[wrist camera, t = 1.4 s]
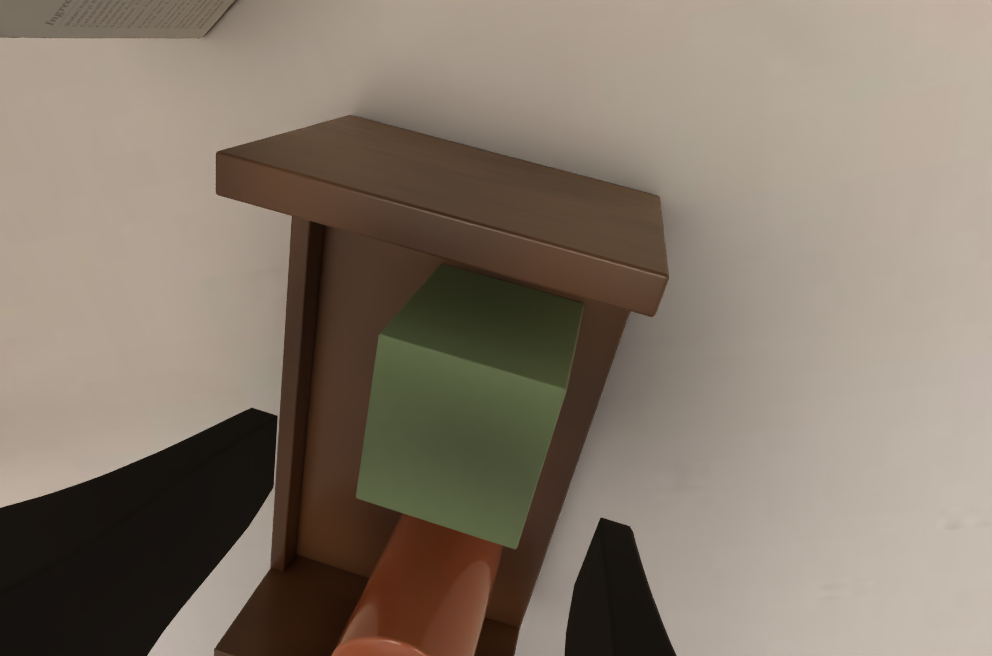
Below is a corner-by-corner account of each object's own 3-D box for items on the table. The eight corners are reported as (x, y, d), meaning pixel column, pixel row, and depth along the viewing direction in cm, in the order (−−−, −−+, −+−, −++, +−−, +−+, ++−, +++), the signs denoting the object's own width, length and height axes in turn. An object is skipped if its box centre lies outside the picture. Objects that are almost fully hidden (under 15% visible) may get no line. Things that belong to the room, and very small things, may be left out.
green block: (543, 438, 20) (516, 550, 16) (415, 399, 21) (354, 498, 16) (584, 303, 18) (567, 389, 14) (440, 262, 18) (378, 334, 14)
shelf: (660, 196, 19) (670, 276, 12) (524, 597, 27) (489, 766, 21) (348, 114, 20) (214, 150, 13) (308, 526, 28) (213, 667, 22)
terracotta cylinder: (490, 591, 24) (447, 752, 18) (392, 558, 24) (321, 706, 19) (513, 515, 22) (473, 668, 17) (406, 480, 22) (333, 620, 17)
